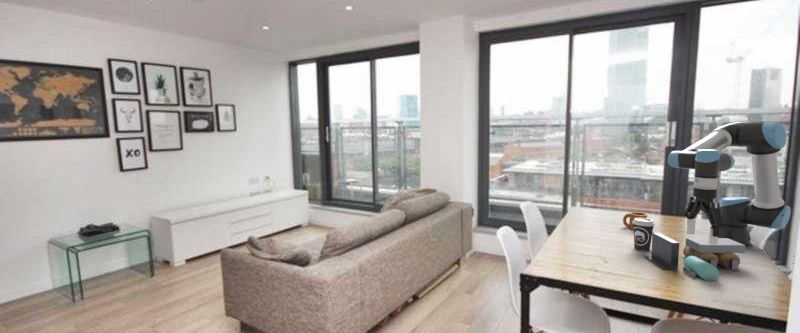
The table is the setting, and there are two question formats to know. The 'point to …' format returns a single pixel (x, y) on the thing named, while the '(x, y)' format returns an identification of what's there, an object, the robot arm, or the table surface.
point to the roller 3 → (726, 258)
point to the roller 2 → (701, 268)
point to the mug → (632, 216)
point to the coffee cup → (642, 233)
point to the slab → (715, 245)
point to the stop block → (664, 252)
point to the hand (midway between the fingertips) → (701, 239)
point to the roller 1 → (699, 254)
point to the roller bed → (714, 262)
